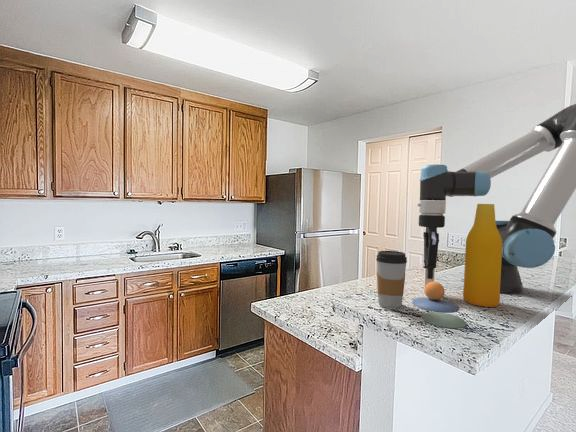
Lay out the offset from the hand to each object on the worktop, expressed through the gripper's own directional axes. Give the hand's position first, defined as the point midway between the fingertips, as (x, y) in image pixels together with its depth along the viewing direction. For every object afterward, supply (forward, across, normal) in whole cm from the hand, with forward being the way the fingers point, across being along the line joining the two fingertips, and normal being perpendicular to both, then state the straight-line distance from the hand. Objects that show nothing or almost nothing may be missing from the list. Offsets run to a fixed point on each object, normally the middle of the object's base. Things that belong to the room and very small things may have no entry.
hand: (428, 287), depth 102 cm
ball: (-1, +6, +1) cm, 6 cm away
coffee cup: (+2, +15, -12) cm, 20 cm away
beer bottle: (+2, +5, +14) cm, 14 cm away
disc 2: (+2, +23, 0) cm, 23 cm away
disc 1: (+2, +11, 0) cm, 11 cm away
